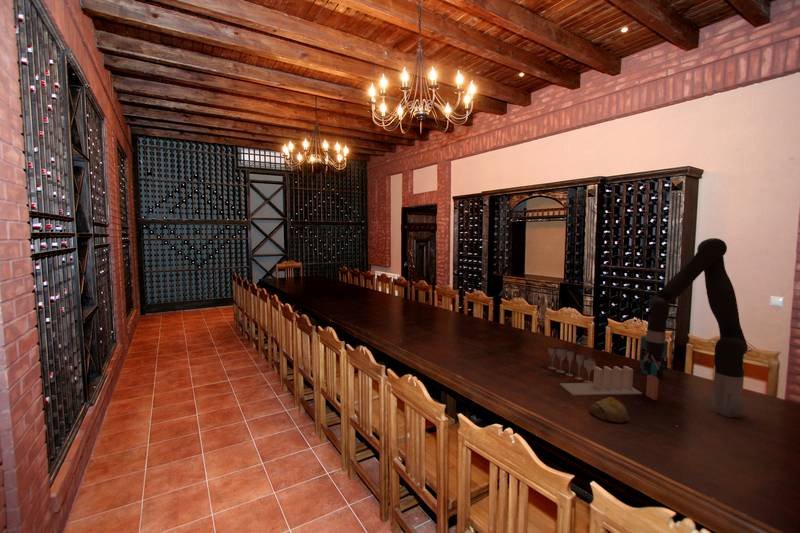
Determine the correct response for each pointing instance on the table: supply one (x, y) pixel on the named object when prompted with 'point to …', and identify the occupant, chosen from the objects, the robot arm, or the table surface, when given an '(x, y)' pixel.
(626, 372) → the ivory domino
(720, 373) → the robot arm
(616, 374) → the ivory domino
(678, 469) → the table surface
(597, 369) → the ivory domino
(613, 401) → the pastry
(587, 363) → the goblet set
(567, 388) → the grey rubber mat
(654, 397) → the terracotta domino
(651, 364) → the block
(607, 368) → the ivory domino
